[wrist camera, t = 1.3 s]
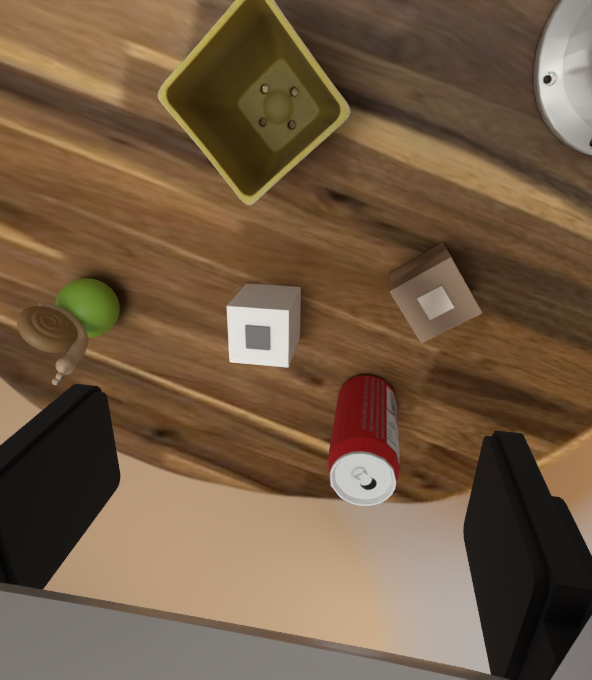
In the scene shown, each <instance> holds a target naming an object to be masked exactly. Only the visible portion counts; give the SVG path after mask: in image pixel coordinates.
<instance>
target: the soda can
mask: <svg viewBox="0 0 592 680" xmlns="http://www.w3.org/2000/svg"><path fill="white" fill-rule="evenodd" d="M328 465H329V475H330V480H331V486H332V487H333V489H334V490H335V491H336V493H337V494H338V495H339V497H340V498H342V499H344V500H345V501H347V502H349V503H352V504H355V505H361V506H372V505H376V504H379V503H381V502H383V501H385V500H387V499H388V498H389V497H390V496H391V495H392V493H393V491H394V490H395V485H396V482H397V479H398V477H399V471H400V460H399V440H398V420H397V401H396V397H395V393H394V390H393V389H392V388H391V386H390V385H389V384H388V383H387V382H386V381H384V380H382V379H379V378H377V377H375V376H368V375H363V376H357V377H355V378H352V379H350V380H348V381H347V382H346V383H345V384H344V385H343V386H342V388H341V389H340V392H339V395H338V401H337V407H336V413H335V419H334V425H333V431H332V437H331V443H330V449H329V455H328Z"/></svg>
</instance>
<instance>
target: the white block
mask: <svg viewBox="0 0 592 680" xmlns="http://www.w3.org/2000/svg"><path fill="white" fill-rule="evenodd" d="M300 309H301V287H293V286H278V285H262V284H247V283H246V285H245V286H244V287H243V288H242V289H241V290H240V291H239V293H238V294H237V295H236V296H235V297H234V298H233V299H232V301H231V302H230V303H229V304H228V305H227V320H228V339H229V359H230V362H234V363H245V364H256V365H267V366H278V367H289V365H290V362H291V360H292V357H293V354H294V352H295V349H296V347H297V344H298V342H299V339H300Z"/></svg>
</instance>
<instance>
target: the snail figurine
mask: <svg viewBox="0 0 592 680" xmlns="http://www.w3.org/2000/svg"><path fill="white" fill-rule="evenodd" d="M119 312H120V305H119V301H118V298H117V296H116V294H115V293H114V291H113V290H112V289H111V288H110V287H109V286H108V285H106V284H105V283H103V282H101V281H98V280H95V279H88V278H85V279H78V280H75V281H72V282H70V283H69V284H67V285H66V286H65V287H64V288H63V289H62V290H61V291H60V292H59V294H58V296H57V299H56V303H55V305H54V304H50V303H39V306H34V307H30V308H27V309H25V310H24V311H23V312H22V313H21V314H20V315H19V317H18V321H17V326H18V330H19V332H20V334H21V336H22V337H23V338H24V339H25V340H26V341H27V342H28V343H29V344H31V345H32V346H34V347H35V348H37V349H40V350H42V351H46V352H52V353H58V352H64V351H67V350H69V349H70V350H69V351H68V353H67V355H66V356H65V357H63V358H60V359H59V360H58V361H57V363H56V369H57V371H58V372H59V373H57V374H56V378H54V379H53V380H52V383H53V384H54V385H57V384H59V382H60V380H61V379H62V378H63V377H64V375H68V374H71V373H72V372H73V371H74V370H75V367H76V365H77V363H78V362H79V361H80V360H81V358H82V356H83V355H84V353H85V351H86V349H87V346H88V338H90V337H97V336H100V335H103V334H105V333H106V332H108V331H109V330H110V329H111V328H112V327H113V326H114V325H115V323H116V322H117V320H118V317H119Z"/></svg>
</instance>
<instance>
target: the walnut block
mask: <svg viewBox="0 0 592 680" xmlns="http://www.w3.org/2000/svg"><path fill="white" fill-rule="evenodd" d="M389 292H390V293H391V295H392V297H393V298H394V300H395V302H396V303H397V305H398V306H399V308H400V310H401V311H402V313H403V315H404V316H405V318H406V319H407V321H408V323H409V324H410V326H411V328H412V329H413V331H414V332H415V334H416V336H417V337H418V339H419V341H420V342H421V343H423V342H426V341H428V340H430V339H432V338H434V337H436V336H438V335H440V334H442V333H444V332H446V331H448V330H450V329H452V328H454V327H456V326H458V325H460V324H462V323H464V322H466V321H468V320H470V319H472V318H474V317H476V316H478V315H480V314H482V312H481V310H480V308H479V306H478V304H477V302H476V300H475V298H474V297H473V295H472V293H471V291H470V289H469V288H468V286H467V284H466V282H465V280H464V279H463V277H462V275H461V273H460V271H459V270H458V268H457V266H456V264H455V263H454V261H453V259H452V257H451V255H450V254H449V252H448V250H447V248H446V247H445V245H444V243H443V242H442V243H441V244H439V245H437V246H435V247H434V248H432V249H430V250H428V251H427V252H425V253H423V254H421V255H420V256H418V257H416V258H414V259H413V260H411V261H409V262H407V263H406V264H404V265H402V266H400V267H399V268H397V269H395V270H393V271H392V272H390V273H389Z"/></svg>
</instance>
